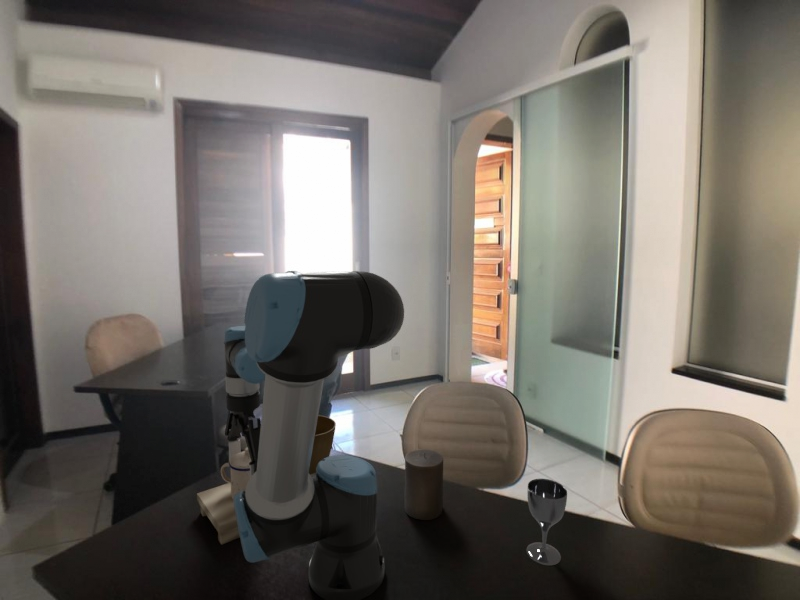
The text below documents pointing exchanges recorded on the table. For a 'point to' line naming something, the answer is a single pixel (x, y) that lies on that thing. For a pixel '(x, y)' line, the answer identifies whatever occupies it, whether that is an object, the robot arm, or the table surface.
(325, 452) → the plant pot
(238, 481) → the teacup with lid
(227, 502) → the birch shelf
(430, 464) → the pillar candle
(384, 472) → the table surface
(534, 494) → the wine glass
